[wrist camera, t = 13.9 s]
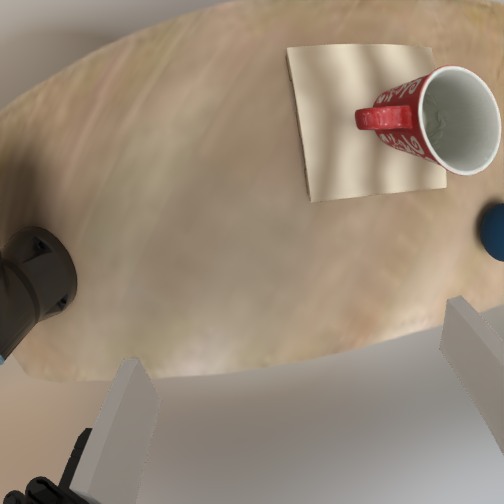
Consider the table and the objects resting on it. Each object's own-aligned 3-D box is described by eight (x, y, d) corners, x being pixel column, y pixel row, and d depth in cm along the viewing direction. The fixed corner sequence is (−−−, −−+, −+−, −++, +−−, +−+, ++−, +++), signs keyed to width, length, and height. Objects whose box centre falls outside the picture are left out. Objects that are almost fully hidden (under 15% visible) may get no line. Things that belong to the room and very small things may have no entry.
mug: (429, 84, 29) (498, 75, 17) (433, 156, 32) (502, 177, 20) (329, 78, 30) (367, 52, 17) (336, 157, 33) (376, 176, 21)
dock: (307, 197, 38) (311, 202, 35) (285, 53, 32) (286, 47, 29) (435, 182, 37) (446, 187, 34) (420, 51, 30) (430, 47, 27)
